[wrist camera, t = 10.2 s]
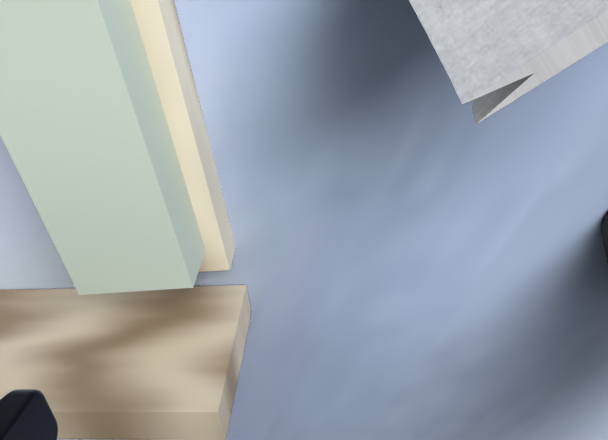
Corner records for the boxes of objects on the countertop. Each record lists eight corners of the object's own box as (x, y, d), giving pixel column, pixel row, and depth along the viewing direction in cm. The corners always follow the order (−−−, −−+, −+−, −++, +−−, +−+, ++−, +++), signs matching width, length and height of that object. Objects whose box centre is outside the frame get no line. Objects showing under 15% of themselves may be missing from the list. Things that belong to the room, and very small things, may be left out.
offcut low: (104, -309, 13) (70, -325, 12) (238, 236, 22) (229, 269, 21) (-89, -270, 14) (-147, -281, 12) (118, 244, 23) (100, 277, 21)
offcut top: (52, -257, 12) (8, -266, 11) (205, 249, 20) (193, 287, 19) (-113, -224, 13) (-179, -229, 11) (99, 257, 21) (78, 294, 19)
